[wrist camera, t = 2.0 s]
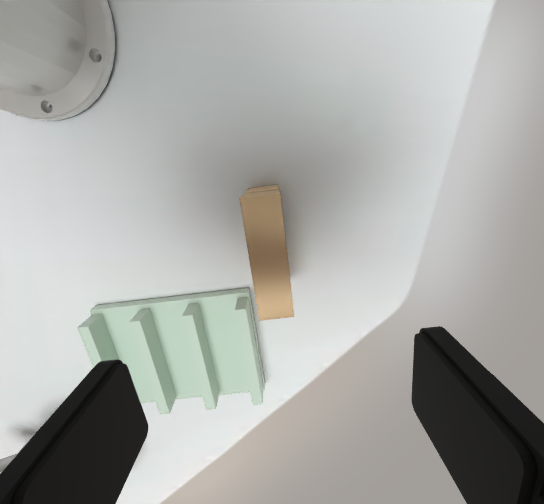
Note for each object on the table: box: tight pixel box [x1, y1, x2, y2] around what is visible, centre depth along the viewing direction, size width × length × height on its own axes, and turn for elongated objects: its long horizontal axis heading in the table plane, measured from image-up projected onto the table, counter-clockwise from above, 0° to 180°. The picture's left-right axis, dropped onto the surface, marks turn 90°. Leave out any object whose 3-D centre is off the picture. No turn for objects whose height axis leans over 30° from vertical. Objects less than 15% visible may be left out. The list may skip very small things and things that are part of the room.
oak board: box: [240, 185, 294, 321], centre depth 22 cm, size 9×3×7 cm, turn 7°
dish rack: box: [78, 288, 265, 414], centre depth 28 cm, size 12×16×3 cm
